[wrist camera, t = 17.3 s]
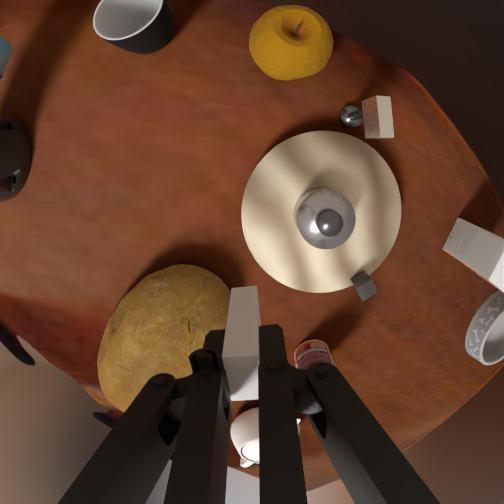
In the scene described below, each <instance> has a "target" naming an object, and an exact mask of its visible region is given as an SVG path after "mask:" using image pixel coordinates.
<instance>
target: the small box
mask: <svg viewBox="0 0 504 504" xmlns="http://www.w3.org/2000/svg"><path fill="white" fill-rule="evenodd" d="M442 250H444V251H445V252H447V253H448V254H450V255H451V256H453V257H454V258H456V259H457V260H459V261H460V262H462V263H463V264H464V265H466V266H467V267H468V268H470V269H471V270H473V271H474V272H476V273H477V274H478V275H480V276H481V277H483V278H484V279H485V280H487V281H488V282H489V283H491V284H492V285H493V286H495V287H496V288H497V289H499V290H500V291H501V292H503V293H504V239H503V238H501V237H499V236H497V235H495V234H493V233H491V232H489V231H487V230H485V229H483V228H480V227H478V226H476V225H474V224H472V223H470V222H468V221H465V220H463V219H461V218H459V217H458V218H457V220H456V222H455V224H454V226H453V228H452V230H451V232H450V234H449V236H448V238H447V240H446V242H445V244H444V246H443V248H442Z"/></svg>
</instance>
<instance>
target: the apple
mask: <svg viewBox="0 0 504 504" xmlns="http://www.w3.org/2000/svg"><path fill="white" fill-rule="evenodd" d="M333 43H334V42H333V37H332V33H331V30H330V28H329V26H328V24H327V22H326V21H325V20H324V19H323V18H322V17H321V16H320V15H319V14H318V13H316V12H315V11H313V10H311V9H310V8H308V7H304V6H299V5H285V6H278V7H275V8H273V9H270V10H269V11H267V12H266V13H264V14H263V15H262V16H261V17H260V18H259V19H258V20H257V21H256V22H255V24H254V26H253V28H252V30H251V32H250V38H249V49H250V53H251V55H252V57H253V59H254V61H255V63H256V64H257V65H258V66H259V67H260V68H261V70H262V71H263V72H264V73H266V74H267V75H268V76H270V77H272V78H275V79H279V80H293V79H298V78H303V77H307V76H310V75H313V74H316V73H317V72H319V71H320V70H321V69H322V68H323V67H325V66H326V64H327V62H328V60H329V58H330V56H331V53H332V48H333Z"/></svg>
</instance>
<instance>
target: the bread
mask: <svg viewBox="0 0 504 504" xmlns="http://www.w3.org/2000/svg"><path fill="white" fill-rule="evenodd" d="M230 296H231V293H230V291H229V289H228V287H227V286H226V285H225V283H224V282H223V281H222V280H221V279H220V278H219V277H218V276H216V275H215V274H213V273H212V272H210V271H208V270H206V269H203V268H201V267H198V266H194V265H187V264H179V265H173V266H169V267H167V268H165V269H162V270H159V271H156V272H155V273H152V274H149V275H147V276H146V277H145V278H143V279H142V280H141V281H140V282H139V283H138V284H137V285H136V286H135V287H133V288H132V289H131V290H130V291H129V292H128V293H127V294H126V295H125V296H124V298H123V299H122V300H121V302H120V303H119V305H118V307H117V308H116V310H115V311H114V313H113V314H112V316H111V318H110V320H109V322H108V324H107V326H106V329H105V332H104V335H103V338H102V341H101V344H100V348H99V354H98V376H99V381H100V385H101V388H102V391H103V393H104V395H105V397H106V398H107V399H108V400H109V401H110V402H111V403H112V404H113V405H114V406H115V407H117V408H118V409H120V410H121V411H123V412H125V411H126V410H127V408H128V407H129V406H130V404H131V403H132V402H133V400H134V399H135V398H136V396H137V395H138V394H139V392H140V391H141V389H142V388H143V387H144V385H145V384H146V383H147V381H148V380H149V379H150V378H151V377H152V376H154V375H156V374H160V373H169V374H171V375H173V376H174V377H175V379H179V378H183V377H186V376H189V375H191V374H192V368H191V365H190V361H189V358H188V357H189V356H190V354H191V353H192V352H194V351H195V350H198V349H201V348H203V345H204V340H205V336H206V335H207V334H208V333H209V331H210V330H221V329H226V324H227V317H228V310H229V303H230Z"/></svg>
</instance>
